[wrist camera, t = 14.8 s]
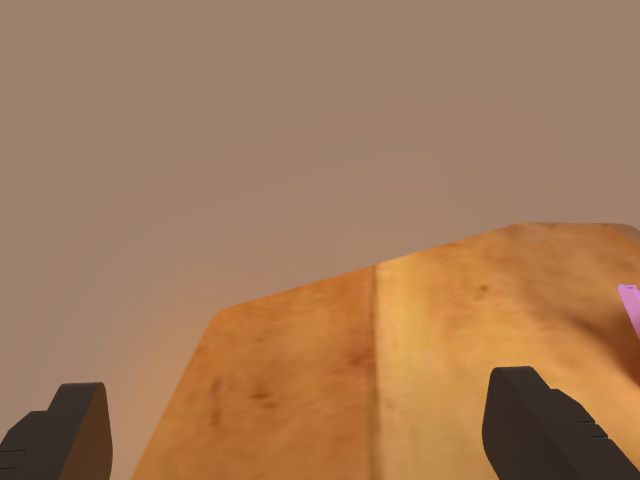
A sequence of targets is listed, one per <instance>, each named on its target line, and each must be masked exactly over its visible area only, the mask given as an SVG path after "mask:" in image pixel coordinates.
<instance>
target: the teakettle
mask: <svg viewBox="0 0 640 480" xmlns="http://www.w3.org/2000/svg"><path fill="white" fill-rule="evenodd" d="M617 291H618V294H619V296H620V298H621V300H622V302H623V305H624V307H625V309H626V311H627V314H628V316H629V318H630V320H631V322H632V325H633V327H634V329H635V331H636V333H637V336H638V338H639V340H640V292H639V291H638V289H637V288H636V285H619V286H618V288H617Z"/></svg>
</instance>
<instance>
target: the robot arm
mask: <svg viewBox="0 0 640 480" xmlns="http://www.w3.org/2000/svg"><path fill="white" fill-rule="evenodd" d="M482 440H483V446H484V450H485V453H486V456H487V458H488V460H489V462H490V463H491V465H492V467H493V469H494V471H495V472H496V474H497V476H498V478H499V480H640V472H639V470H638V469H637V468H636V467H635V466H634V465H633V464H632V462H631V461H630V460H629V459H628V458H627V457H626V456H625V454H624V453H623V452H622V451H621V450H620V449H619V448H618V446H617V445H616V444H615V443H614V442H613V441H612V440H611V439H608V435H607V434H606V433H605V432H604V430H603V429H602V428H601V427H600V426H599V425H596V424H595V420H594V419H593V418H592V417H591V416H590V414H589V413H588V412H587V411H586V410H585V409H584V408H583V406H582V405H581V404H580V403H578V402H577V401H575V400H574V399H572V398H571V397H569V396H568V395H566V394H565V393H563V392H562V391H560V390H558V389H550V388H549V386H548V385H547V384H546V383H545V382H544V380H543V379H542V378H541V377H540V376H539V374H538V373H537V372H536V371H535V370H534V369H533V368H532V367H530V366H521V367H497V368H494V369H493V370H492V372H491V375H490V381H489V387H488V393H487V400H486V406H485V412H484V418H483V425H482ZM112 450H113V449H112V438H111V430H110V422H109V413H108V405H107V396H106V389H105V386H104V384H103V383H102V382H94V383H70V384H62V385H61V386H60V387H59V389H58V391H57V393H56V394H55V396H54V398H53V400H52V402H51V404H50V406H49V408H48V410H47V411H32V412H30V413H29V414H28V415H27V416H25V417H24V418H23V419H21V420H20V421H19V422H18V423H17V424H16V425H14V426H13V427H12V428H11V429H10V430H9V431H8V432H7V434H6V436H5V437H4V439H3V441H2V442H1V444H0V480H109V478H110V474H111V467H112V457H113V455H112V454H113V451H112Z"/></svg>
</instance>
